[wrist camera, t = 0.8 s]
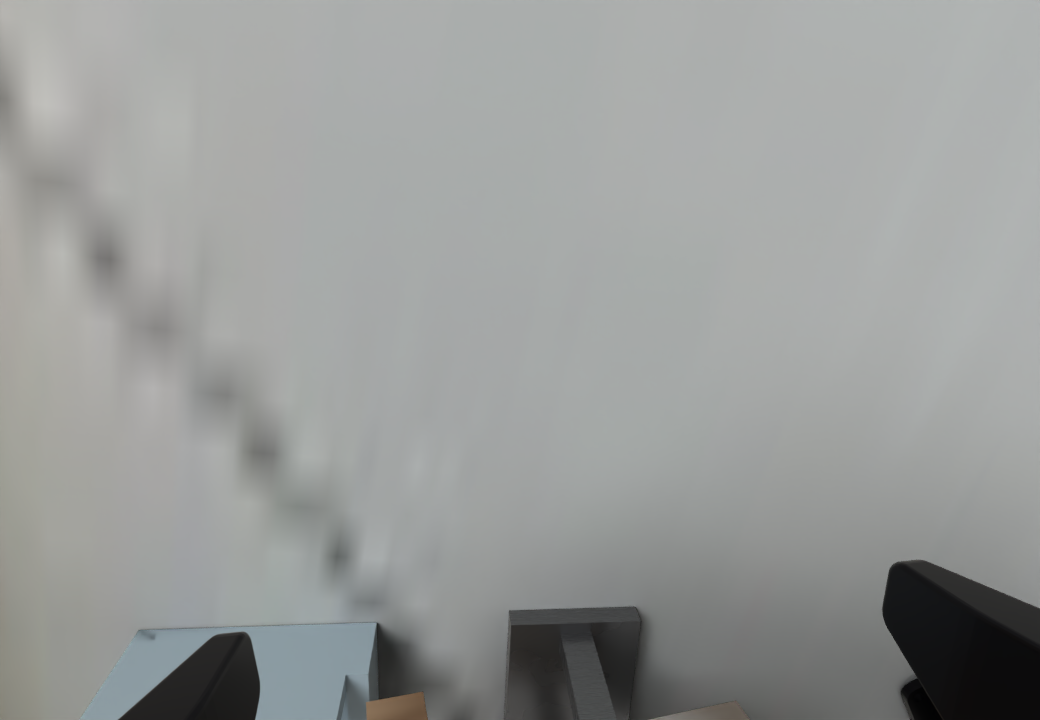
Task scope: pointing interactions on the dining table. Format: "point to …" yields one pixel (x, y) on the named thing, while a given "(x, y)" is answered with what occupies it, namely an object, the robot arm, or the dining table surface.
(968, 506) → the dining table surface
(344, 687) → the box
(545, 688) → the pivot stand
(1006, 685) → the robot arm
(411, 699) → the lever
